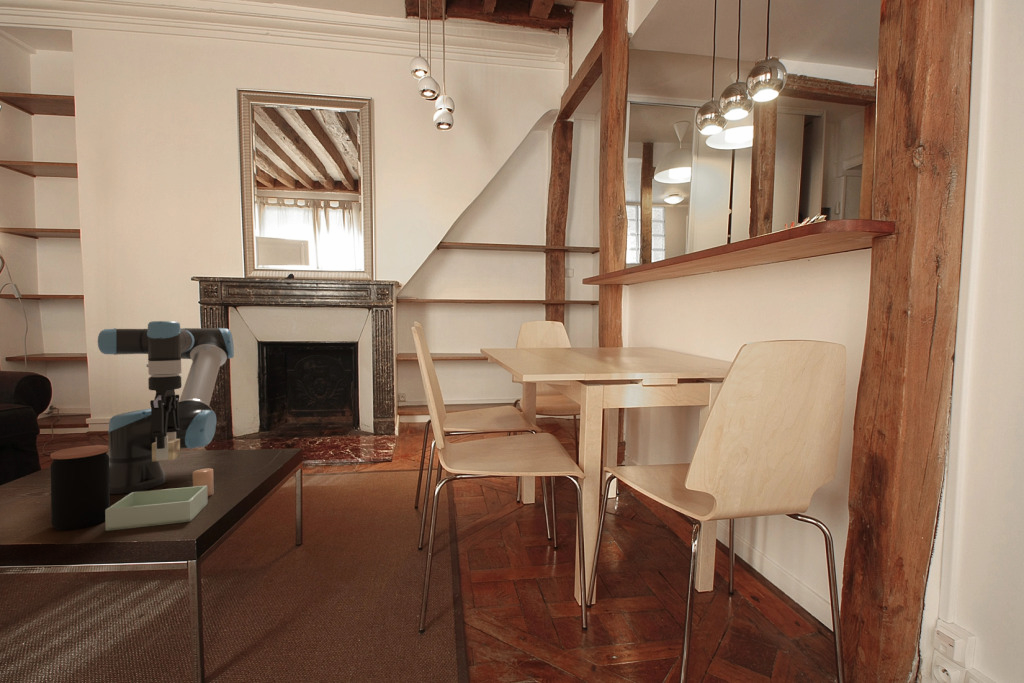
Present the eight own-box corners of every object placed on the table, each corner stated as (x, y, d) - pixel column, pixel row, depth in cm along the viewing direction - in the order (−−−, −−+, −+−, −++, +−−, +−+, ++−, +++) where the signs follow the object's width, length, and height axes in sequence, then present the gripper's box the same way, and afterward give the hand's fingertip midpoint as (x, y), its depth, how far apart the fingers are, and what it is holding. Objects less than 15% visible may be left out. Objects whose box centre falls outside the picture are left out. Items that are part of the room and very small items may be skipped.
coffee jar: (105, 511, 122) (104, 443, 122) (114, 521, 116) (113, 449, 115) (48, 524, 114) (47, 451, 114) (54, 535, 107) (53, 457, 107)
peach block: (196, 493, 136) (196, 469, 136) (215, 491, 138) (215, 467, 138) (190, 498, 132) (189, 474, 132) (210, 496, 133) (210, 472, 133)
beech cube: (159, 457, 134) (159, 439, 134) (180, 455, 135) (179, 438, 135) (152, 461, 129) (151, 443, 129) (172, 460, 131) (172, 442, 130)
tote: (132, 511, 122) (132, 492, 122) (207, 503, 127) (207, 485, 127) (105, 530, 110) (105, 509, 110) (190, 521, 115) (190, 501, 115)
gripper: (162, 373, 139) (164, 450, 140) (134, 378, 122) (135, 466, 122) (191, 372, 142) (193, 448, 142) (167, 377, 124) (169, 464, 125)
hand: (166, 456), depth 132 cm, fingers closed on beech cube, 5 cm apart
